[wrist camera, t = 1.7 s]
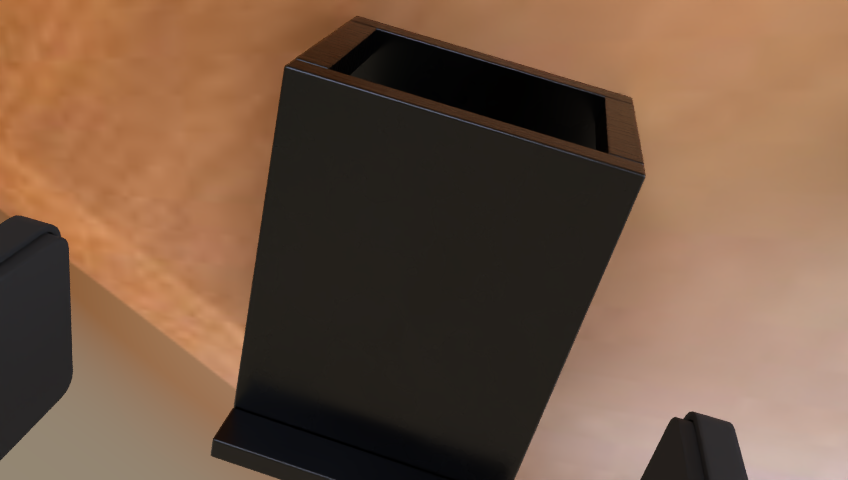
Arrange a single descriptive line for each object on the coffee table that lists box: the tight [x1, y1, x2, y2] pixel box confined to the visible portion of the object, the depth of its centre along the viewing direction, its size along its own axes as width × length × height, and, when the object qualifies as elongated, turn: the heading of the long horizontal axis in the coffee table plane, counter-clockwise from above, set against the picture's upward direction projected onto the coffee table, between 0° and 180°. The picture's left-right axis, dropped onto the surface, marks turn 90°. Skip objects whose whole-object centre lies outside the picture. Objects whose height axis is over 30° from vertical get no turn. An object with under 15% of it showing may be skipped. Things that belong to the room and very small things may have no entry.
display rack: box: [211, 16, 645, 480], centre depth 30 cm, size 16×12×10 cm
